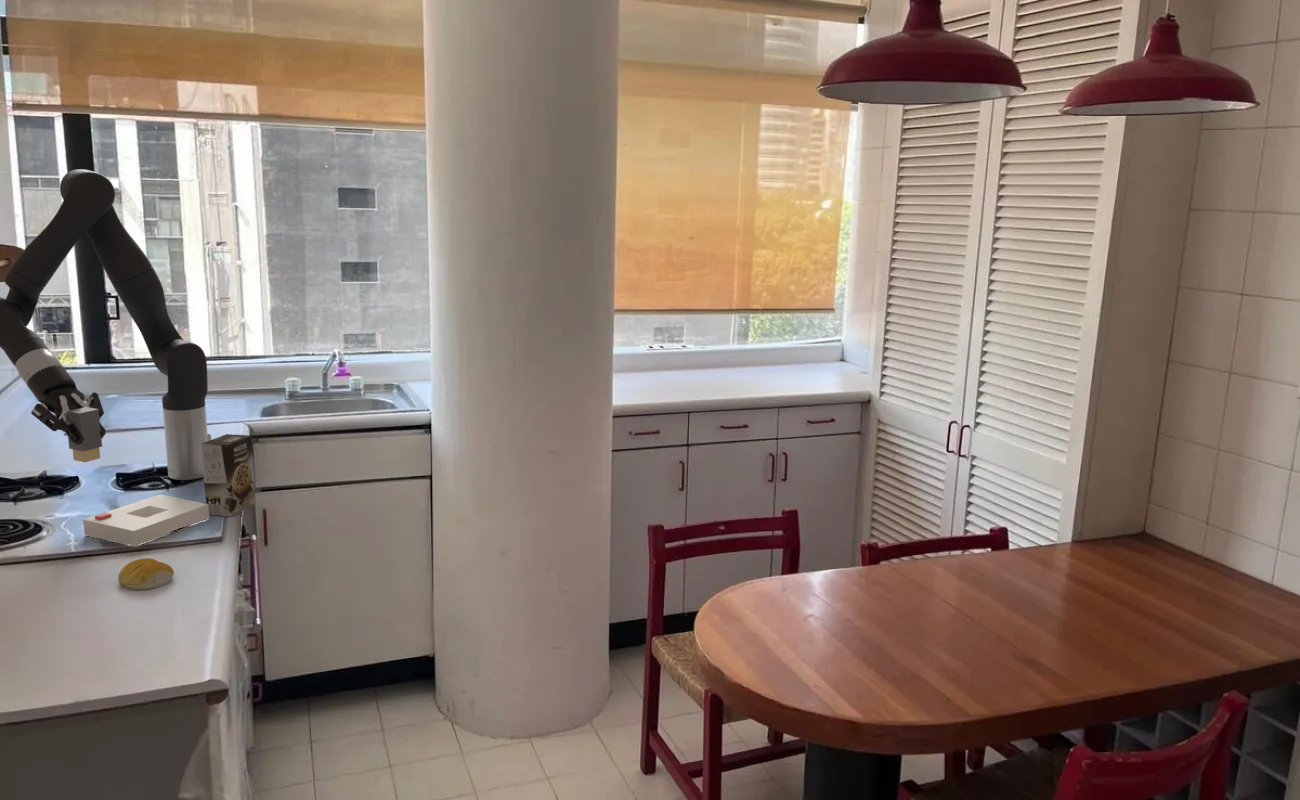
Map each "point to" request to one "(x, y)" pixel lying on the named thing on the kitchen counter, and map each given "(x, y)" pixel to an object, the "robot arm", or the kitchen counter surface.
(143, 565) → the bread roll
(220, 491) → the coffee box
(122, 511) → the socket plate
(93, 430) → the plug
